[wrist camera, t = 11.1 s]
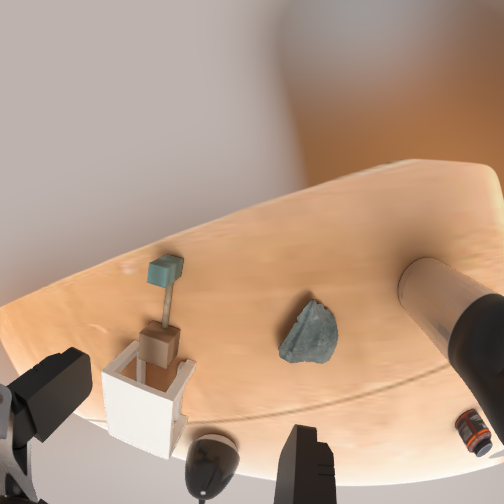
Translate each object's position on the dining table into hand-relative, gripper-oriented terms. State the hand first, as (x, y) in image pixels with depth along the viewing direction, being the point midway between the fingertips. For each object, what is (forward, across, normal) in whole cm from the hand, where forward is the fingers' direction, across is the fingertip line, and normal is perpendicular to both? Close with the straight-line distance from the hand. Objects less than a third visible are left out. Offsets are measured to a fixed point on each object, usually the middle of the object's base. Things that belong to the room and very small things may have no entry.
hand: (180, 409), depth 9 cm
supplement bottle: (+33, -52, +26) cm, 67 cm away
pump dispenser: (+33, 0, +42) cm, 54 cm away
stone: (+34, -10, +11) cm, 37 cm away
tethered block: (+33, +13, +13) cm, 38 cm away
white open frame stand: (+33, +13, +30) cm, 47 cm away
